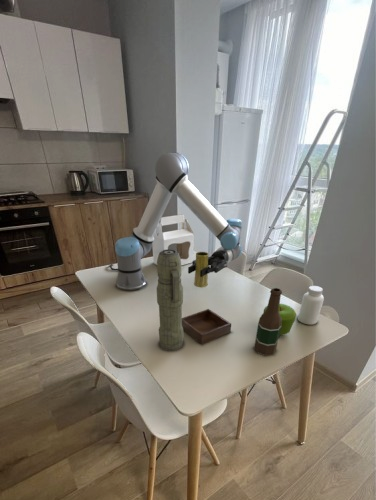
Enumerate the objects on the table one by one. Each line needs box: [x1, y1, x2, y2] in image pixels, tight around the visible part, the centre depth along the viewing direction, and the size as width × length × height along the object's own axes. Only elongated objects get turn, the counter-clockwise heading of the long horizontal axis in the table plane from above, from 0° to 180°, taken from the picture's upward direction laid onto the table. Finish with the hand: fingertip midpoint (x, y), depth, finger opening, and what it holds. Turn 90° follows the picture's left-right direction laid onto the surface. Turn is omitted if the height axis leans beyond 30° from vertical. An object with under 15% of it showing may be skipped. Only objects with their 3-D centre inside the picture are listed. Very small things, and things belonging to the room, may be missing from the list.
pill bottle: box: [297, 285, 325, 326], centre depth 119 cm, size 8×8×15 cm
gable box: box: [152, 213, 195, 266], centre depth 173 cm, size 22×13×28 cm, turn 126°
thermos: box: [156, 248, 184, 352], centre depth 98 cm, size 9×12×35 cm
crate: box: [182, 308, 232, 345], centre depth 115 cm, size 15×15×4 cm
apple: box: [262, 303, 297, 336], centre depth 113 cm, size 12×12×11 cm
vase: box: [193, 251, 209, 288], centre depth 126 cm, size 6×6×14 cm
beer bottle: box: [254, 287, 283, 356], centre depth 99 cm, size 8×8×24 cm
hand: (194, 272), depth 122 cm, fingers closed on vase, 5 cm apart
